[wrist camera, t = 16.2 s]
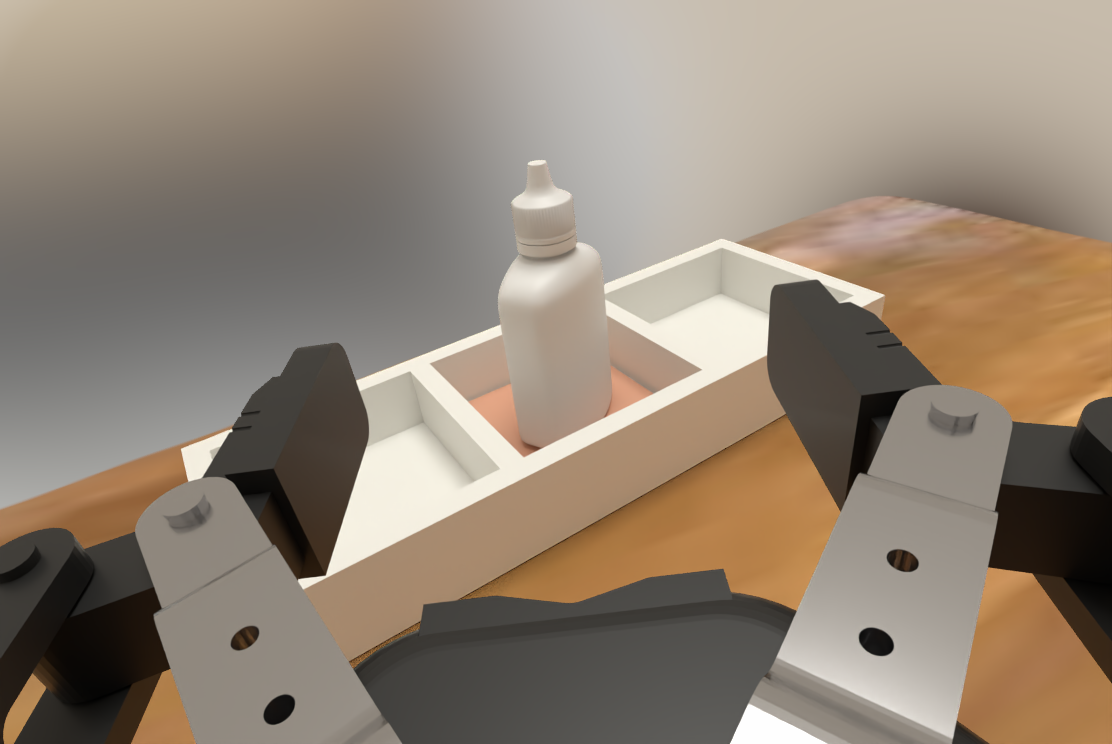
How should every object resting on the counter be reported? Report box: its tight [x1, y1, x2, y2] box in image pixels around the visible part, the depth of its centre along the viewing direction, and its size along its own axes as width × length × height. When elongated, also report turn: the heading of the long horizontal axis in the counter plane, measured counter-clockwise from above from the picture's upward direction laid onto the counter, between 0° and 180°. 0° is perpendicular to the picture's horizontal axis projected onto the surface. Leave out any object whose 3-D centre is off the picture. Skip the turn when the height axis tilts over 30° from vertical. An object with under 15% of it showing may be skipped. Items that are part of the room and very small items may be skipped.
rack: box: [181, 239, 885, 662], centre depth 31 cm, size 31×11×4 cm, turn 123°
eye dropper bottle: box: [498, 160, 612, 448], centre depth 28 cm, size 4×6×12 cm
